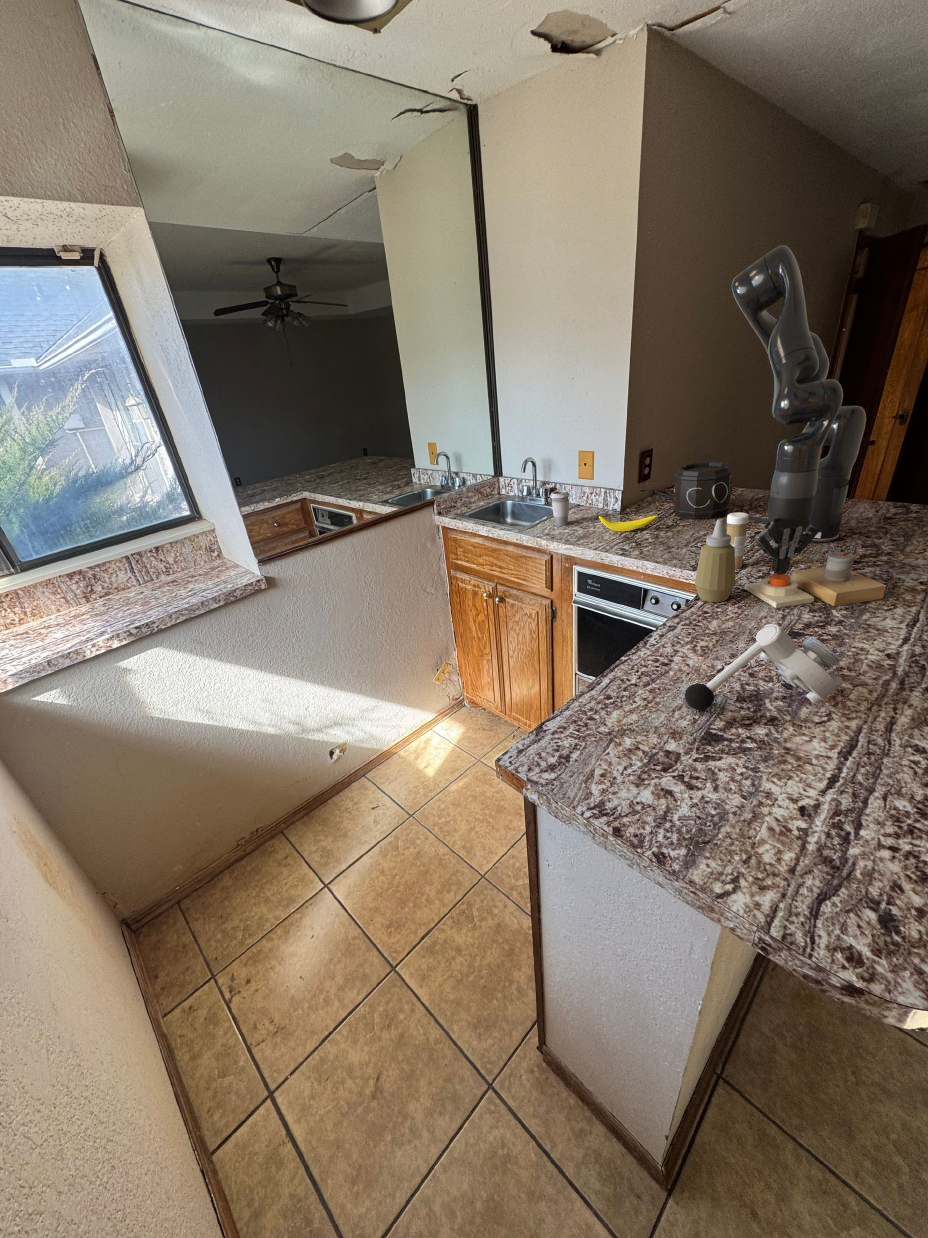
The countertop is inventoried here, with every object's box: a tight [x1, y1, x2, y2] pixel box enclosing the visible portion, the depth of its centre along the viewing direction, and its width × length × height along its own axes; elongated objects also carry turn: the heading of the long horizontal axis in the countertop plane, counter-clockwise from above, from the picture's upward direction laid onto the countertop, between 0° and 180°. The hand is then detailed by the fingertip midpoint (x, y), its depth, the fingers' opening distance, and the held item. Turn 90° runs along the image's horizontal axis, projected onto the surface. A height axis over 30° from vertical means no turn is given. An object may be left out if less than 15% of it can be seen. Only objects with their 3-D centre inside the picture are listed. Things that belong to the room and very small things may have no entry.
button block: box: [744, 577, 815, 609], centre depth 104 cm, size 11×8×3 cm
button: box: [769, 573, 791, 587], centre depth 103 cm, size 4×4×2 cm
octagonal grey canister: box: [672, 461, 735, 521], centre depth 161 cm, size 18×18×16 cm
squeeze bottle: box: [694, 518, 736, 603], centre depth 104 cm, size 8×8×18 cm
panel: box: [790, 565, 887, 607], centre depth 102 cm, size 13×10×3 cm
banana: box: [596, 513, 658, 533], centre depth 157 cm, size 3×19×6 cm, turn 71°
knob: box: [824, 550, 856, 582], centre depth 100 cm, size 4×4×5 cm
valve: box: [684, 623, 844, 711], centre depth 74 cm, size 10×20×15 cm
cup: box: [549, 489, 571, 527], centre depth 174 cm, size 7×7×12 cm
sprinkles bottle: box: [726, 511, 750, 569], centre depth 119 cm, size 5×5×13 cm
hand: (779, 573), depth 102 cm, fingers closed
